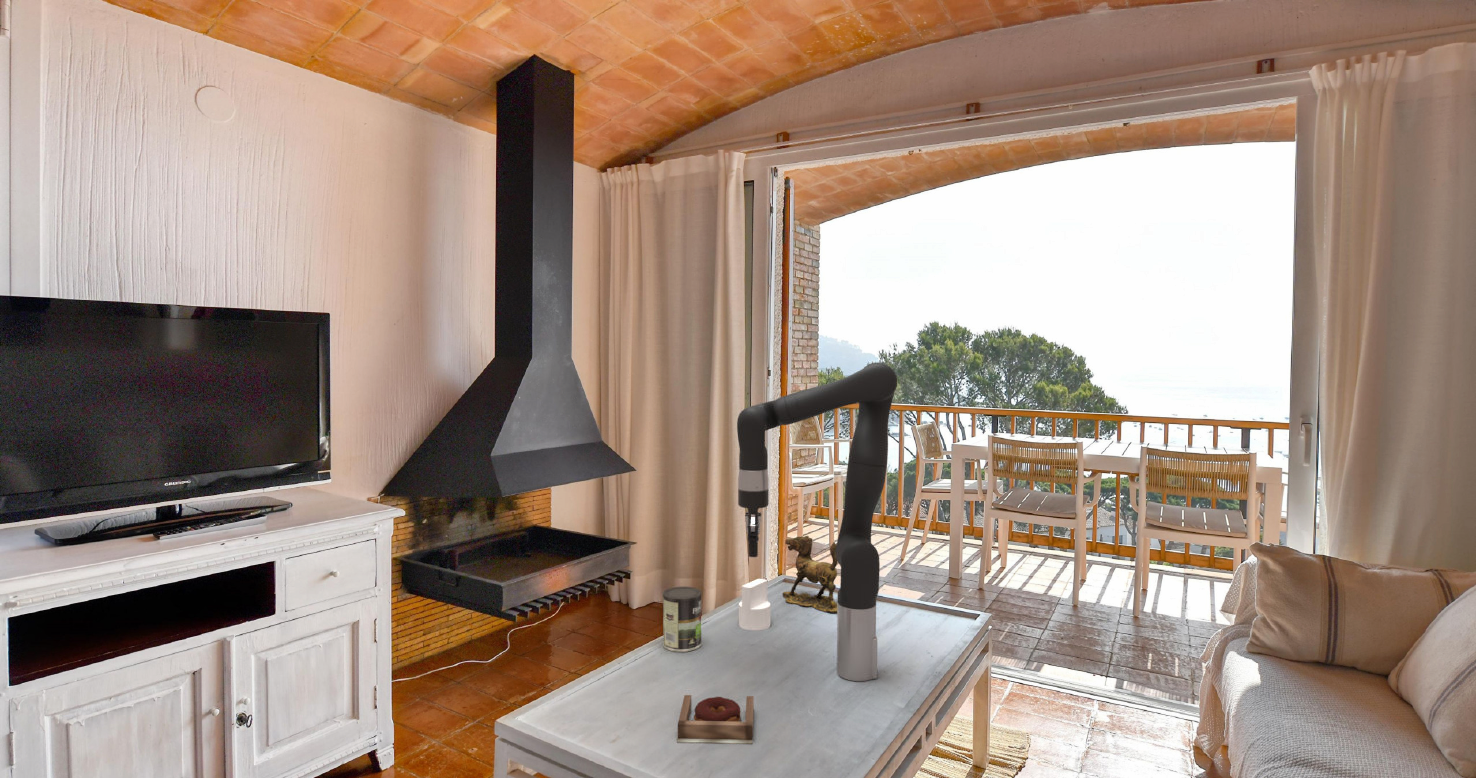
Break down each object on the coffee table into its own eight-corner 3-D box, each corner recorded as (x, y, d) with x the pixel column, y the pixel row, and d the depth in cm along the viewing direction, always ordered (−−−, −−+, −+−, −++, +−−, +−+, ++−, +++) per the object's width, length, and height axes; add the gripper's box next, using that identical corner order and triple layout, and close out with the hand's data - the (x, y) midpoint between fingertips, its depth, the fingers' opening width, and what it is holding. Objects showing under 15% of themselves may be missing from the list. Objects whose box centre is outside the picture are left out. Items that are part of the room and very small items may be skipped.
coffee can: (705, 638, 198) (705, 587, 197) (696, 653, 188) (695, 599, 187) (669, 635, 200) (669, 584, 199) (657, 650, 190) (657, 597, 189)
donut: (696, 709, 158) (696, 691, 158) (741, 710, 158) (741, 692, 158) (691, 734, 148) (691, 714, 148) (739, 734, 148) (739, 715, 148)
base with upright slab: (750, 616, 214) (750, 576, 214) (776, 623, 209) (776, 581, 208) (732, 625, 207) (732, 584, 206) (758, 632, 202) (758, 590, 201)
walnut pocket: (753, 709, 158) (753, 696, 158) (752, 743, 144) (752, 729, 144) (684, 708, 159) (684, 694, 158) (676, 742, 145) (676, 727, 145)
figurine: (800, 589, 239) (800, 528, 238) (860, 609, 220) (861, 542, 220) (772, 597, 231) (772, 534, 230) (832, 619, 212) (832, 550, 211)
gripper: (768, 492, 173) (768, 564, 174) (768, 482, 186) (768, 549, 187) (737, 491, 173) (737, 563, 174) (739, 482, 187) (739, 549, 187)
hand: (753, 556), depth 181 cm, fingers closed
